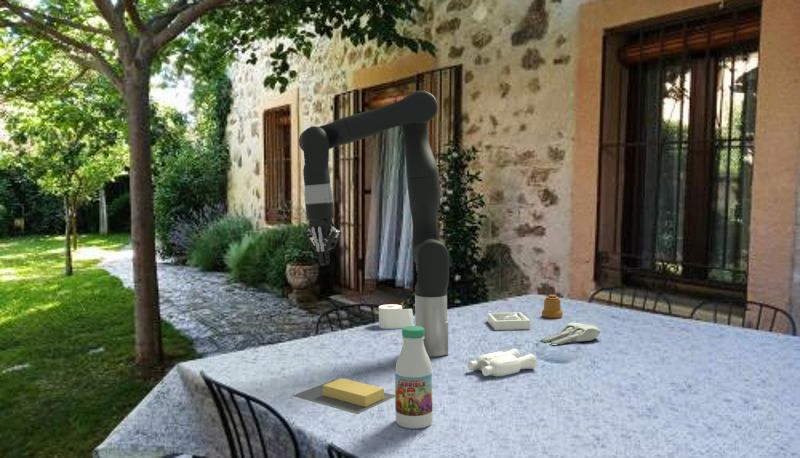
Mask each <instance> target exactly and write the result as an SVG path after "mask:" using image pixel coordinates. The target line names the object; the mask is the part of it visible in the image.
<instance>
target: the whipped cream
mask: <svg viewBox="0 0 800 458" xmlns="http://www.w3.org/2000/svg"><path fill="white" fill-rule="evenodd" d="M511 313H512V314H510V315H508V316H506V317H504V320H521V319H520V317H518V316H517V314H516V313H515V312H511Z"/></svg>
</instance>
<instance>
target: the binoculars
mask: <svg viewBox="0 0 800 458" xmlns="http://www.w3.org/2000/svg"><path fill="white" fill-rule="evenodd" d="M537 363H538V362H537V358H536V356H535V355H534V354H532V353H528V354H526V355H524V356H521V353H520V351H519V350H518V349H516V348H510V349H509V350H507V351H505V352H504V351H501V350H500V351H495V352H490V353H484V354H480V355H479V356H477V358H476V359H475V360H471V361H468V362H467V368H468V370H470V371H474V370H478V371H481V373H482V375H483V376H485V377H487V376H493V377H497V378H498V377H500V378H501V377H505V376H509V375H513V374H517V373H519V372H520V370H527V369H528V370H534V369H536V367H537Z"/></svg>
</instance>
